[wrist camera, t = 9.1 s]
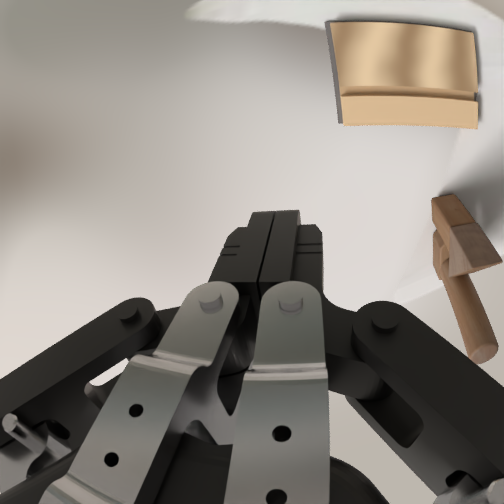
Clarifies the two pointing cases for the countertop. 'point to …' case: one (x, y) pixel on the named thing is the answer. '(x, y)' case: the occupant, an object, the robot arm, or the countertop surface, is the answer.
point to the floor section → (402, 101)
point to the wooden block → (464, 272)
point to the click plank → (404, 56)
